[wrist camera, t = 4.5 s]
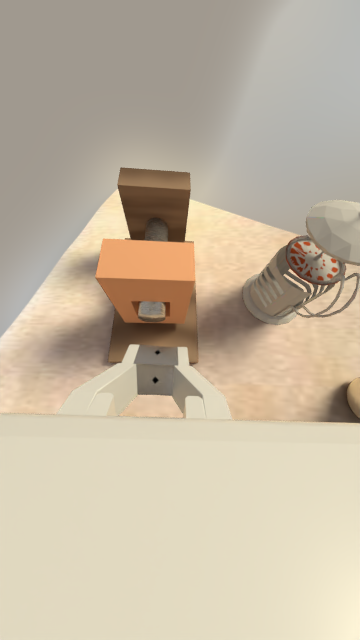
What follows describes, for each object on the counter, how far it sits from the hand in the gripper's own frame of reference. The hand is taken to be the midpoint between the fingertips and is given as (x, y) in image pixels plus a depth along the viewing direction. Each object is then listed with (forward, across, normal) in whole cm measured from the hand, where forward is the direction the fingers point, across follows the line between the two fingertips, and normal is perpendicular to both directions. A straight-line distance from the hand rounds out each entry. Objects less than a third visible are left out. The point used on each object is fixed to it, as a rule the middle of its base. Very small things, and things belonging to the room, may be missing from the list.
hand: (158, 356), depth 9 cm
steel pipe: (+16, +2, -2) cm, 17 cm away
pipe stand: (+20, +2, +3) cm, 20 cm away
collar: (+15, +2, +3) cm, 16 cm away
